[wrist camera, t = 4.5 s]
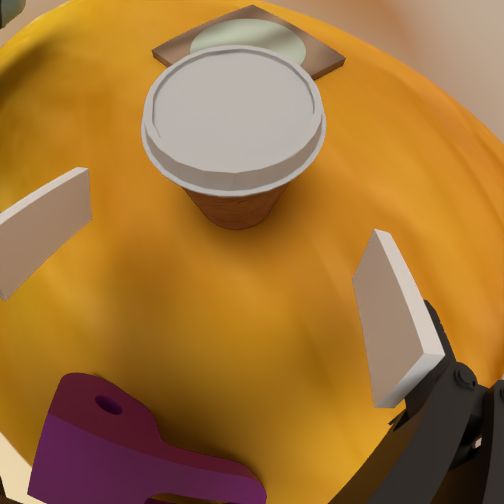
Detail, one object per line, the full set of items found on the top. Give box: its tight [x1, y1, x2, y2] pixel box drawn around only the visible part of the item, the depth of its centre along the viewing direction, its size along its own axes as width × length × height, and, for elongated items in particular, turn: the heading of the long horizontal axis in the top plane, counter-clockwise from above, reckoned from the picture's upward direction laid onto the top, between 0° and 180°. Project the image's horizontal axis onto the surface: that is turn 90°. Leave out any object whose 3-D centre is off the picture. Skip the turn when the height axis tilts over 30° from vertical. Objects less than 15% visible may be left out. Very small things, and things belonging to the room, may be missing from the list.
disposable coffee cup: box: [141, 45, 326, 230], centre depth 18 cm, size 10×10×12 cm
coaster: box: [152, 5, 346, 81], centre depth 27 cm, size 16×16×1 cm
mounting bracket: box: [27, 373, 267, 504], centre depth 17 cm, size 9×8×18 cm
